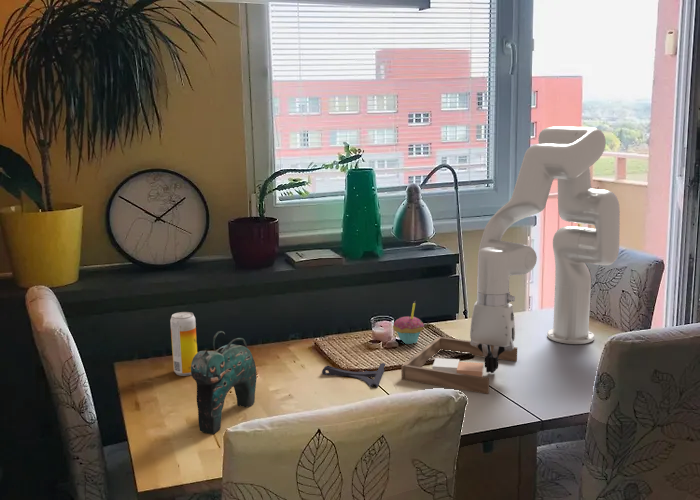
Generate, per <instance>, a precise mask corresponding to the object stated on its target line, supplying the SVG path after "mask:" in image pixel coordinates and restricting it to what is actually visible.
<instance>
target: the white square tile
mask: <svg viewBox="0 0 700 500" xmlns="http://www.w3.org/2000/svg"><path fill="white" fill-rule="evenodd" d="M460 360H461V359H459V358H457V359H456V358H441V357H440V358H439V357H435V358H434V361H433V363H432V366H431V367H432V368H431V369H435V370H441V371H448V372H454V373H457V367H458V364H459V362H461V361H460Z"/></svg>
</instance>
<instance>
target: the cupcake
mask: <svg viewBox="0 0 700 500" xmlns="http://www.w3.org/2000/svg"><path fill="white" fill-rule="evenodd" d="M415 309H416V300H415V301H413V303H412V309H411V314H410V316H409V315H407V316H400V317H399V318H397V319H396V320H394V322H393V325H392V329H393V330H394V331H395V332H396V334H397V335H398V338H399V341H400V340H402V341H403V342H404V343H405V344H406V345H412V344H413V343H414V344H416V343H418V340H419V337H420V334H421V332H422V331H424V327H425V323H424V322H423V321H422V320H421V319H420V318H418V317H416V316H414V315H415ZM404 343H403V344H404ZM414 344H413V345H414Z"/></svg>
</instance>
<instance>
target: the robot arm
mask: <svg viewBox="0 0 700 500" xmlns="http://www.w3.org/2000/svg"><path fill="white" fill-rule="evenodd" d="M538 134H539V135H538V143H537V144H532V145H531V146H530V147H528V148H527V149H526V151H525V153H524V156H523V159H522V163H521V164H520V165H521V166H520V169H519V172H518V176H517V179H516V182H515V186H514V189H513V192H512V194H511V198H510V199H509V200H508V201H507V202H506V203H505V204H504V205H503V206H502V207H500V208H499V209H498V210H497V211H496V212H495V214H493V215H492V216H491V218H490V219H489V220H488V222H487V223H486V225H485V227H484V229H483V233H482V236H481V240H480V243H479V247H478V253H477V283H476V284H477V285H476V287H477V288H476V290H477V291H476V295H477V296H476V301H475V302H474V304H473V308H472V315H471V320H470V329H469V330H470V335H469V338H470V340H469V341H470V345H472V346H474V347H477V348H479V349H480V350H481V352H482V353H483V355H484V356H485V357H484V368H486V369H485V370H486V373H491V374H494V372H495V371H496V370H498V369H499V359H498V357H499V355H500V354H501V353H502V352H506V351H512V350H513V349H514V347H515V345H514V341H515V339H516V329H515V327H516V325H515V324H516V323H515V313H514V307H513V304H512V303H513V302H515V300H516V296H515V295H511V292H510V277H511V276H522V275H526V274H528V273H530V272H531V271H532V270H533V269H534V268H535V266H536V264H537V259H538V258H537V257H538V256H537V252H536V251H535V249H534V248H533V247H531V246H530V245H527V244H524V243H518V242H513V241H505V240H502V238H503V236H504V235H505V233H506V231H507V230H508V229H509V228H510V227H511V226H512V225H514V224H515V223H517V222H519V221H520V220H523V219H526V218H528V217H532V216H534V215H537V214H539V213H541V212H544V210H545V208H546V205H547V202H548V198H549V195H550V191H551V188H552V186H553V185H552V184H553V182H554V180H555V179H556V180H557V210H558V215H559V217H560V218H561V220H563V221H565V222H568V223H575V224H582V225H590V226H592V225H593V226H594V227H595V228H592V227H586V226H575V225H570V226H569V225H568V226H562V227H561V228H558V230H557V231H555V233H554V235H553V238H552V249H553V255H554V265H555V271H554V273H555V276H554V278H555V279H554V301H553V302H554V303H553V328H551V329H549V330H547V333H546V334H547V337H548V339H549V340H551V341H553V342H557V343H561V344H566V345H585V344H588V343H591V342H593V341H594V340H595V334H594V333H593V332H592V331H590V330H589V328H590V327H589V326H590V309H591V291H592V290H591V286H592V285H591V284H592V276H591V272H590V270H589V268H588V266H587V264H589V265H597V266H610V265H613V263H615V262H616V260H617V258H618V257H619V251H620V225H621V223H620V219H621V218H620V216H621V215H620V212H621V211H620V203H619V202H620V201H619V198H618V197H617V195H616V194H615V192H613V191H610V190H607V189H600V188H594V187H593V188H592V184H591V182H592V181H591V169H590V168H591V166H593V165H594V164H595V163H597V161H598V160H600V158H601V157H602V156H603V154H604V151H605V148H606V143H607V142H606V137H605V134H604V133H603V131H602V130H601V129H599V128H597V127H590V126H549V127H545V128H544V129H542V130H541V131H540V132H539V133H538ZM511 302H512V303H511ZM490 345H493V346H494V349H493V354H492V352H491V347H490Z"/></svg>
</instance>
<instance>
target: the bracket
mask: <svg viewBox="0 0 700 500" xmlns="http://www.w3.org/2000/svg"><path fill="white" fill-rule="evenodd" d="M385 365H386V363H384V362H381V363H380V364H379V365H378V367H379V368H378V370H377V371H367V370H364V371H365V372H362V371H350V370H343V369H340V368H337V367H333V366H331V365H326V366H324V367H323V369H322V370H321V375H323V376H333V377H334V376H338V377H350V378H355V379H358V380H360V381H363V383H366V384H367V385H368V387H369V388H373V386H375V388H376V389H378V388H379V385H380V383H381V380H382V378H383V375H384V373H385V370H384V366H385ZM327 371H328V372H327Z"/></svg>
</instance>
